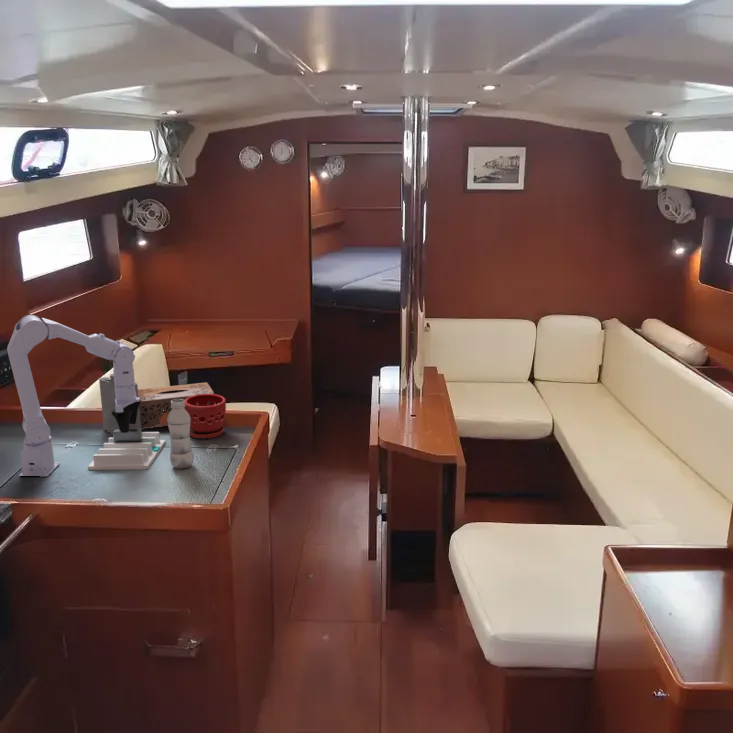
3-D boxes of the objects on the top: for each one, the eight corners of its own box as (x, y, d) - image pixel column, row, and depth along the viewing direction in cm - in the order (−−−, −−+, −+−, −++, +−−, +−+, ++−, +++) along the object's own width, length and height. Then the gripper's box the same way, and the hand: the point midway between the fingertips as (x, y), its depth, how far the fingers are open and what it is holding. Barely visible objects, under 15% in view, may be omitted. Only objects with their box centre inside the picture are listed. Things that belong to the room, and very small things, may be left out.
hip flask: (143, 435, 240) (138, 375, 235) (134, 439, 236) (128, 379, 231) (109, 427, 248) (104, 369, 242) (99, 430, 244) (94, 372, 239)
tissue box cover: (137, 430, 245) (135, 402, 242) (134, 417, 258) (131, 390, 255) (215, 421, 254) (214, 393, 251) (208, 409, 267) (207, 382, 264)
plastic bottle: (188, 472, 211) (184, 404, 206) (166, 470, 212) (161, 403, 207) (198, 463, 217) (193, 398, 212) (176, 461, 218) (171, 396, 213)
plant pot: (178, 439, 236) (175, 403, 233) (199, 426, 249) (196, 391, 246) (215, 443, 233) (213, 407, 230) (234, 429, 245) (232, 395, 242)
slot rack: (147, 469, 213) (146, 456, 212) (88, 469, 213) (86, 456, 212) (165, 443, 233) (164, 430, 232) (111, 443, 233) (109, 431, 232)
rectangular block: (141, 450, 224) (139, 431, 222) (114, 450, 224) (112, 431, 222) (143, 447, 226) (141, 429, 224) (116, 448, 226) (115, 429, 224)
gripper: (131, 391, 213) (135, 436, 216) (144, 377, 227) (148, 419, 230) (106, 391, 212) (110, 436, 216) (121, 377, 226) (125, 420, 230)
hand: (128, 427), depth 223 cm, fingers open, 7 cm apart
